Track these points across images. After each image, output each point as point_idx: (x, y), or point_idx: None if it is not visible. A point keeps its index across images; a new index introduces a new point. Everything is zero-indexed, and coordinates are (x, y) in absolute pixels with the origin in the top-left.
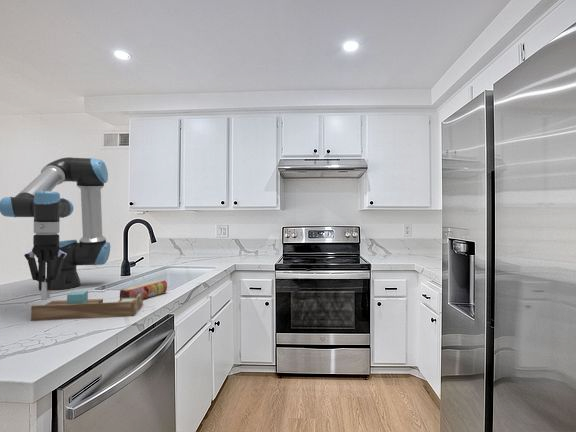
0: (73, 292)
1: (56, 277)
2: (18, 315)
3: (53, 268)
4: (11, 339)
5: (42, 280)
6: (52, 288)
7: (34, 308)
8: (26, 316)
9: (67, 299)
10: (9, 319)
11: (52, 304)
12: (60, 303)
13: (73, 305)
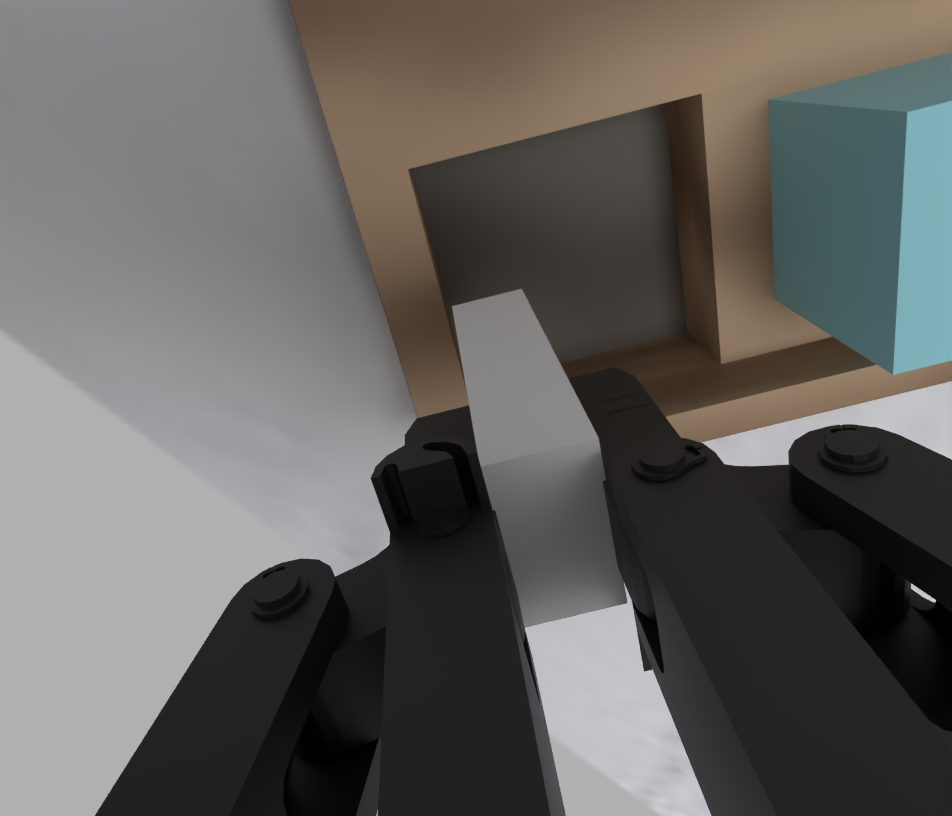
0: (941, 189)
1: (910, 601)
2: (97, 254)
3: (947, 762)
4: (606, 737)
5: (518, 620)
6: (629, 377)
7: None
8: (238, 283)
9: (853, 345)
10: (152, 396)
11: (435, 100)
12: (523, 23)
13: (926, 382)
